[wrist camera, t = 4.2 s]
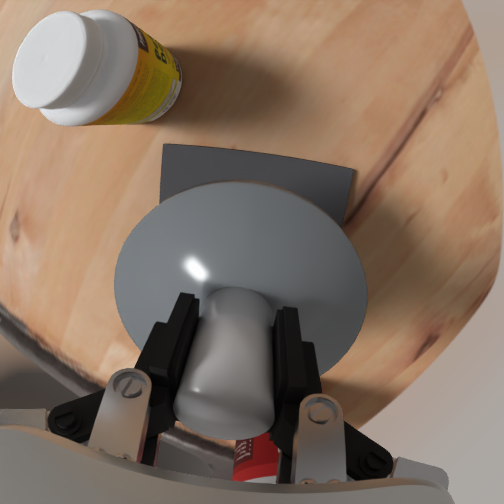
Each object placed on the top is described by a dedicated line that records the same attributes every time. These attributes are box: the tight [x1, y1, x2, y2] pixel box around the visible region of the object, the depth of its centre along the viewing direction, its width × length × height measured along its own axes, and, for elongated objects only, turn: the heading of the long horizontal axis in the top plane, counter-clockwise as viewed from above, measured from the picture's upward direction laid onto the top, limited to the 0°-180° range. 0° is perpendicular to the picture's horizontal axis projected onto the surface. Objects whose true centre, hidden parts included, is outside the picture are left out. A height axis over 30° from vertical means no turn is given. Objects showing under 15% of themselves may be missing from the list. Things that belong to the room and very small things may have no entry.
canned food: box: [232, 433, 280, 484], centre depth 21 cm, size 8×8×11 cm
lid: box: [114, 179, 367, 440], centre depth 10 cm, size 11×11×6 cm
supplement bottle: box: [12, 10, 182, 126], centre depth 11 cm, size 6×6×10 cm
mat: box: [159, 144, 353, 228], centre depth 20 cm, size 14×12×1 cm
